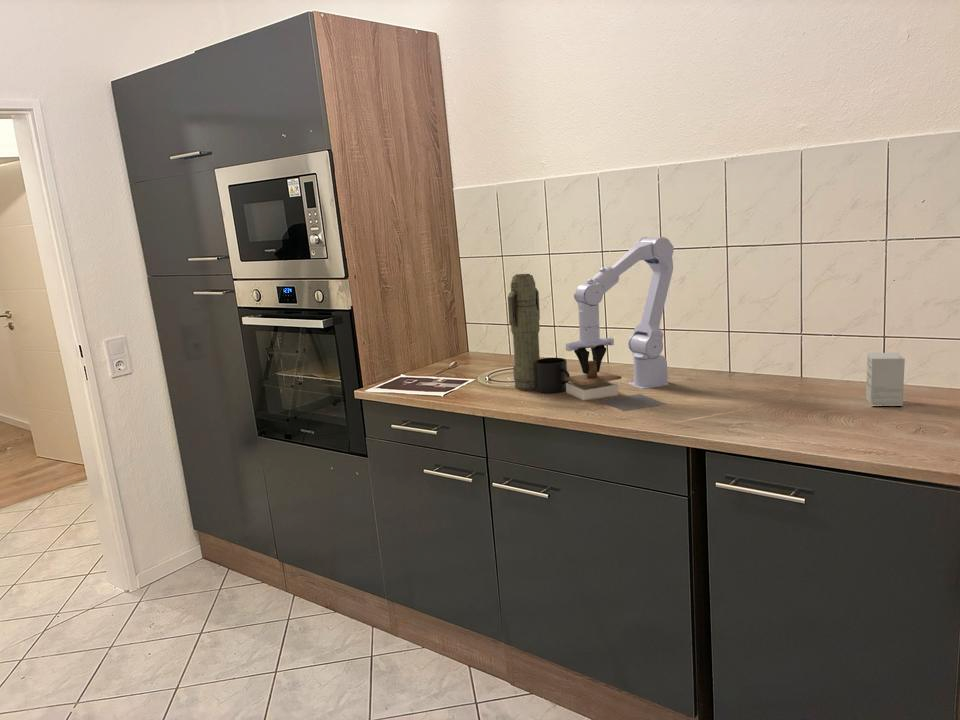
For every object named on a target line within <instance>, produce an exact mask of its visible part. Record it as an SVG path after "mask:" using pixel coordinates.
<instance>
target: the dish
mask: <svg viewBox="0 0 960 720" xmlns="http://www.w3.org/2000/svg"><path fill="white" fill-rule="evenodd" d="M565 391H566V394H568V395H570V396H572V397H574V398H576V399H578V400H580V401H582V402H587V401H593V400H599V399H600V400H601V399H606V398H607V399H608V398H611V397H613V398H614V397H617V396H618V397H619V385H618V384H617V383H613V382H611V381H606V382H600V383H593V384H587V385H582V384H578V383H574V382H570V381H569V382H568V383H566V390H565Z"/></svg>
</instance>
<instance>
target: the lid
mask: <svg viewBox="0 0 960 720" xmlns="http://www.w3.org/2000/svg"><path fill="white" fill-rule="evenodd" d="M564 380H565V381H569V382H574V383H578V384H582V385H587V384H593V383H600V382H606V381H609V382H611V381H617V380H622V376H621V375H617V374H611V373H608V372H607V373H606V372H601V371H599V372H597V364H596V361H593V360H588V374H585V373H583V374H579V375H578V374H577V375H573V376H570V377H565V378H564Z"/></svg>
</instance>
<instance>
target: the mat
mask: <svg viewBox="0 0 960 720" xmlns="http://www.w3.org/2000/svg"><path fill="white" fill-rule="evenodd" d="M599 401H600V402H603V403H604V404H607V405H608V406H611V407H613V408H615V409H618V410H620V411H622V412H629V411H634V410H640V409H645V408H651V407H657V406H663V405H666V403H665V402H662V401H660V400H657V399H654V398H652V397H649V396H648V395H644V394H641V393H638V394H637V393H636V394H631V395H625V396H620V397H619V396H618V397H613V398H607V399H606V398H605V399H602V400H601V399H600V400H599Z"/></svg>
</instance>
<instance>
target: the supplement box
mask: <svg viewBox="0 0 960 720" xmlns="http://www.w3.org/2000/svg"><path fill="white" fill-rule="evenodd" d="M866 355H867V357H866V358H867V359H866V361H867V362H866V390H865V400H866V399H867V400H868V402H869V403H870V405H876V406H877V405H879V406H880V405H881V406H903V405H904V387H905V386H904V384H905V383H904V382H905V364H906V363H905V362H906V359H905V358H904V356H903V355H902V354H900V353H899V352H867V353H866ZM867 400H866V401H867ZM868 402H867V403H868ZM869 403H868V404H869ZM870 405H869V406H870ZM903 407H904V406H903Z"/></svg>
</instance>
